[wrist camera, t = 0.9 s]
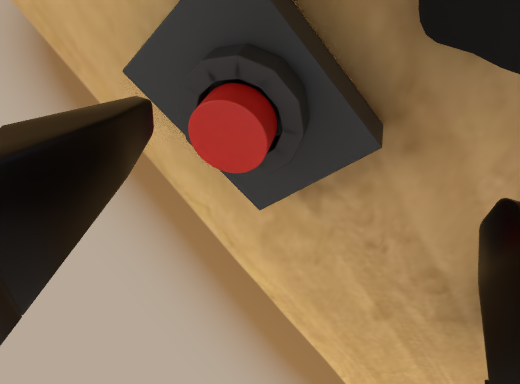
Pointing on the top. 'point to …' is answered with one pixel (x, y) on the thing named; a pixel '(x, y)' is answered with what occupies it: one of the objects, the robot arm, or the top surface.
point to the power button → (233, 128)
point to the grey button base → (260, 87)
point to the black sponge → (476, 28)
